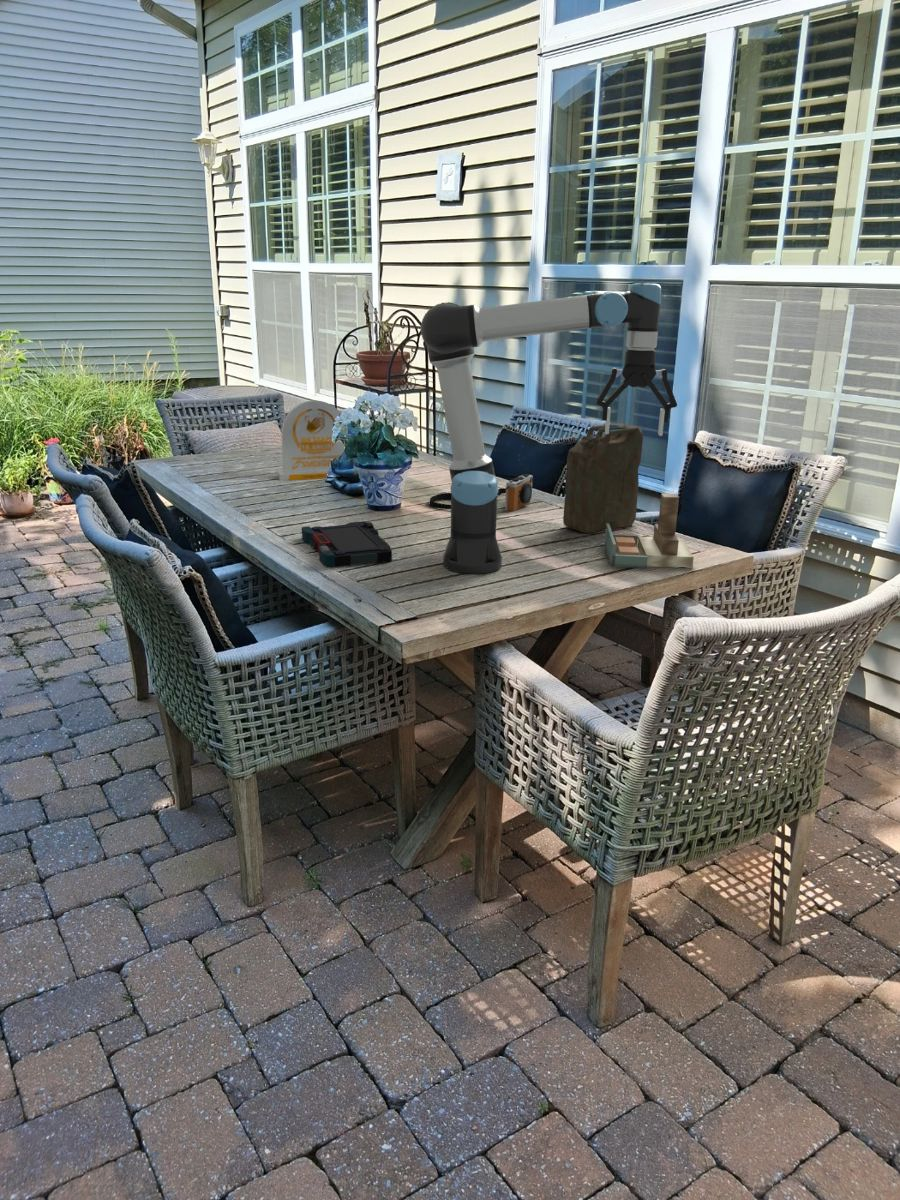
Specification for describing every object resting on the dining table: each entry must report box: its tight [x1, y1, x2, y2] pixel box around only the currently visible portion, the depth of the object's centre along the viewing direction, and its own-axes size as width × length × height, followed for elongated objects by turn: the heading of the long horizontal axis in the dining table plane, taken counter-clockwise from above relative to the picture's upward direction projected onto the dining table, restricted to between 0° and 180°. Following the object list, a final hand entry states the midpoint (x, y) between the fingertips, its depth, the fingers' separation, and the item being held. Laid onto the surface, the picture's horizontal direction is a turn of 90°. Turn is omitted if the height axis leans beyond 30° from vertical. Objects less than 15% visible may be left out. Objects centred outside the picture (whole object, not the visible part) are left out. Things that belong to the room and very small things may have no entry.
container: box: [562, 422, 644, 534], centre depth 263 cm, size 23×10×30 cm, turn 122°
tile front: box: [618, 546, 639, 556], centre depth 235 cm, size 5×5×2 cm
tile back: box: [615, 537, 635, 551], centre depth 244 cm, size 5×5×2 cm
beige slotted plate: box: [638, 536, 695, 569], centre depth 239 cm, size 12×18×3 cm, turn 175°
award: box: [276, 399, 344, 481], centre depth 324 cm, size 28×9×28 cm, turn 108°
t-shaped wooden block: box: [652, 492, 680, 555], centre depth 236 cm, size 4×16×14 cm, turn 176°
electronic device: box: [301, 521, 393, 569], centre depth 242 cm, size 20×31×5 cm, turn 21°
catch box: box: [604, 524, 648, 569], centre depth 239 cm, size 9×21×6 cm, turn 175°
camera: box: [428, 473, 534, 512], centre depth 293 cm, size 30×30×10 cm
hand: (633, 434), depth 229 cm, fingers open, 13 cm apart
